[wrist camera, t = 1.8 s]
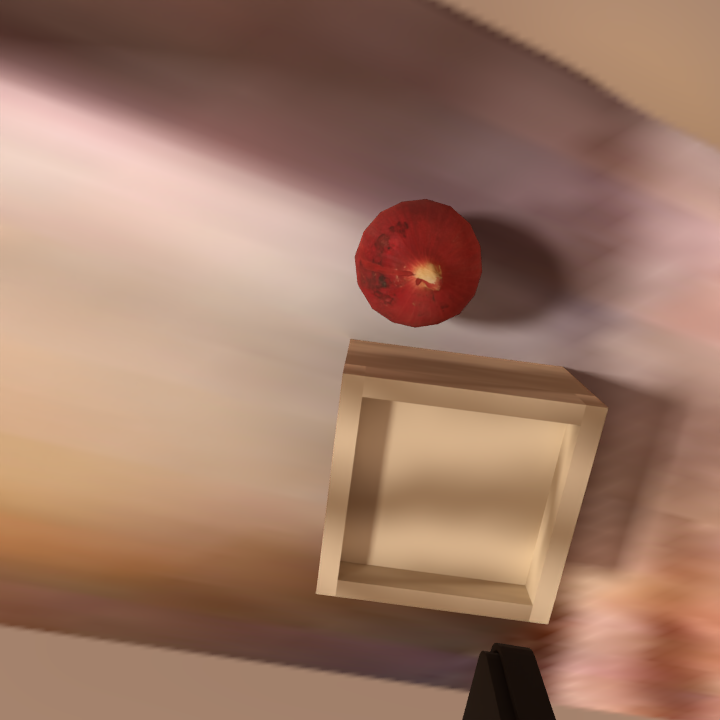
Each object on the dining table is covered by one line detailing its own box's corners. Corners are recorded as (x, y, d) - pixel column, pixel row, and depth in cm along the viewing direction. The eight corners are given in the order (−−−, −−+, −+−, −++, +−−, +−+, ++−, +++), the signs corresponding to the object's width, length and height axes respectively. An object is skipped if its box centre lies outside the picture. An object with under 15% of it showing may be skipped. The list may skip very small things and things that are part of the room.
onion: (365, 315, 29) (359, 355, 22) (352, 207, 28) (341, 209, 20) (471, 303, 29) (504, 340, 21) (464, 193, 27) (497, 190, 20)
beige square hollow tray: (350, 337, 30) (342, 373, 24) (561, 365, 30) (608, 407, 24) (328, 520, 34) (315, 593, 27) (516, 545, 33) (547, 624, 27)
